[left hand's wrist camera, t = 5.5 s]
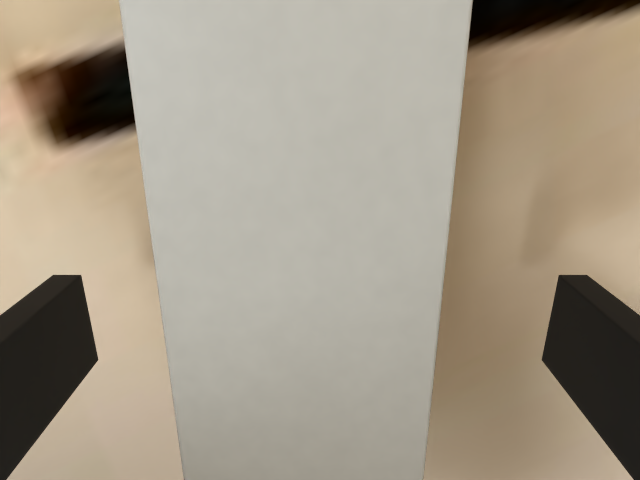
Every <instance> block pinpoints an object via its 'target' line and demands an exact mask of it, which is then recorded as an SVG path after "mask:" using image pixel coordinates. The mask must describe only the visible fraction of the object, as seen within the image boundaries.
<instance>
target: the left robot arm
mask: <svg viewBox="0 0 640 480" xmlns="http://www.w3.org/2000/svg"><path fill="white" fill-rule="evenodd" d="M97 361H98V356H97V351H96V346H95V341H94V336H93V332H92V327H91V322H90V317H89V312H88V307H87V302H86V297H85V292H84V287H83V282H82V277H81V275H53V276H51V277H50V278H49V279H47V280H46V281H45V282H43V283H42V284H41V285H39V286H38V287H37V288H36V289H34V290H33V291H32V292H30V293H29V294H28V295H26V296H25V297H24V298H22V299H21V300H20V301H19V302H17V303H16V304H15V305H13V306H12V307H11V308H9V309H8V310H7V311H5V312H4V313H3V314H2V315H0V480H6V479H7V478H8V477H9V475H10V474H11V473H12V471H13V470H14V469H15V468H16V466H17V465H18V464H19V462H20V461H21V460H22V458H23V457H24V456H25V455H26V453H27V452H28V451H29V449H30V448H31V447H32V445H33V444H34V443H35V442H36V440H37V439H38V438H39V436H40V435H41V434H42V432H43V431H44V430H45V428H46V427H47V426H48V425H49V423H50V422H51V421H52V419H53V418H54V417H55V415H56V414H57V413H58V412H59V410H60V409H61V408H62V406H63V405H64V404H65V402H66V401H67V400H68V399H69V397H70V396H71V395H72V393H73V392H74V391H75V389H76V388H77V387H78V386H79V384H80V383H81V382H82V380H83V379H84V378H85V376H86V375H87V374H88V372H89V371H90V370H91V369H92V367H93V366H94V365H95V363H96V362H97ZM542 361H543V362H544V363H545V365H546V366H547V367H548V369H549V370H550V371H551V373H552V374H553V375H554V376H555V378H556V379H557V380H558V382H559V383H560V384H561V386H562V387H563V388H564V389H565V391H566V392H567V393H568V395H569V396H570V397H571V399H572V400H573V401H574V402H575V404H576V405H577V406H578V408H579V409H580V410H581V412H582V413H583V414H584V415H585V417H586V418H587V419H588V421H589V422H590V423H591V425H592V426H593V427H594V428H595V430H596V431H597V432H598V434H599V435H600V436H601V438H602V439H603V440H604V442H605V443H606V444H607V445H608V447H609V448H610V449H611V451H612V452H613V453H614V455H615V456H616V457H617V458H618V460H619V461H620V462H621V464H622V465H623V466H624V468H625V469H626V470H627V471H628V473H629V474H630V475H631V477H632V478H633V479H634V480H640V315H638V314H637V313H636V312H635V311H633V310H632V309H631V308H629V307H628V306H627V305H625V304H624V303H623V302H621V301H620V300H619V299H618V298H616V297H615V296H614V295H612V294H611V293H610V292H608V291H607V290H606V289H604V288H603V287H602V286H601V285H599V284H598V283H597V282H595V281H594V280H593V279H591V278H590V277H589V276H587V275H559V277H558V282H557V287H556V292H555V297H554V302H553V307H552V312H551V317H550V322H549V327H548V332H547V336H546V341H545V346H544V351H543V356H542Z"/></svg>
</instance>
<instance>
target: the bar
mask: <svg viewBox="0 0 640 480" xmlns="http://www.w3.org/2000/svg"><path fill="white" fill-rule="evenodd" d="M472 2H473V0H119V4H120V12H121V19H122V26H123V34H124V41H125V49H126V56H127V63H128V71H129V78H130V85H131V93H132V100H133V108H134V115H135V122H136V130H137V137H138V144H139V152H140V159H141V167H142V174H143V181H144V189H145V196H146V203H147V211H148V218H149V225H150V233H151V240H152V248H153V255H154V262H155V270H156V277H157V284H158V292H159V299H160V307H161V314H162V321H163V329H164V336H165V343H166V351H167V358H168V366H169V373H170V380H171V388H172V395H173V402H174V410H175V417H176V424H177V432H178V439H179V447H180V454H181V461H182V469H183V476H184V480H423V478H424V468H425V459H426V449H427V439H428V429H429V420H430V410H431V400H432V391H433V381H434V371H435V361H436V352H437V342H438V332H439V323H440V313H441V303H442V293H443V284H444V274H445V264H446V254H447V245H448V235H449V225H450V216H451V206H452V196H453V186H454V177H455V167H456V157H457V148H458V138H459V128H460V118H461V109H462V99H463V89H464V80H465V70H466V60H467V50H468V41H469V31H470V21H471V12H472Z"/></svg>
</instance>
